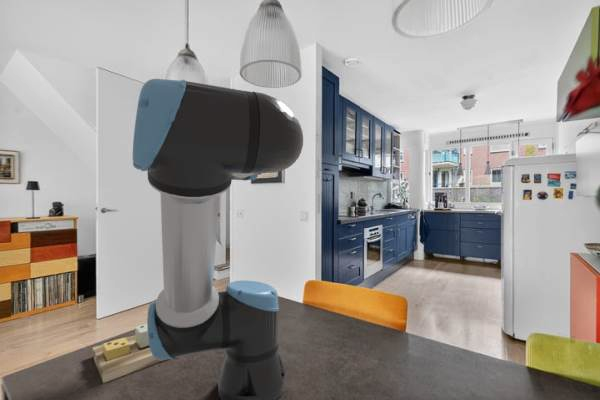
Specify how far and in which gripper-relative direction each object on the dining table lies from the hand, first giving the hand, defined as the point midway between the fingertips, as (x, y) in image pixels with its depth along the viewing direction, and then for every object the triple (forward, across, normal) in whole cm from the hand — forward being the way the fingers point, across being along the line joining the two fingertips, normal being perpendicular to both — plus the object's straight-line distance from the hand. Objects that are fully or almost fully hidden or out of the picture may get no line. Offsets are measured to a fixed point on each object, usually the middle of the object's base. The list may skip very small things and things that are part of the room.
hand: (187, 282), depth 83 cm
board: (+18, +4, +9) cm, 21 cm away
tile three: (+17, +5, +17) cm, 25 cm away
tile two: (+15, +4, +9) cm, 18 cm away
